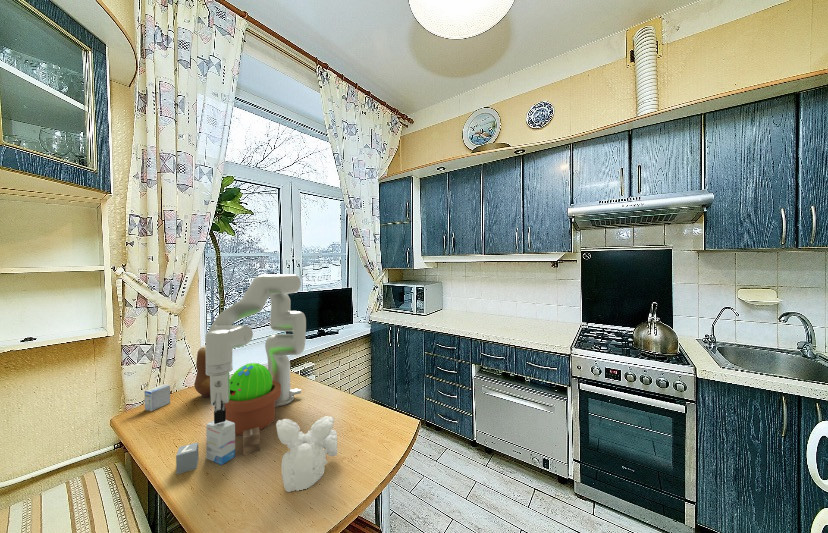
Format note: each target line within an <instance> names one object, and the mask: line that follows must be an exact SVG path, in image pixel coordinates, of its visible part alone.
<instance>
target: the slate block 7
mask: <svg viewBox="0 0 828 533" xmlns="http://www.w3.org/2000/svg"><path fill="white" fill-rule="evenodd" d="M199 459H200V458H199V441H198V442H197V441H196V442H192V443H189V444H185V445H182V446H179V447H178V449H177V452H176V454H175V464H176V465H175V466H176V467H175V469H176V475H180V474H183V473H186V472H190V471H193V470H196V469H197V467H198V464H199Z"/></svg>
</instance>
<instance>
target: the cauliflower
mask: <svg viewBox="0 0 828 533" xmlns="http://www.w3.org/2000/svg"><path fill="white" fill-rule="evenodd" d="M334 418H335V417H334V416H328V415H326V416H322V417H319V419H318V420H317V419H316V421H315V422H314V424H312V425H311V426H310V429H309V430H307V433H304V432H303V431H302V430H301V431H300V429H301V428H300V426H299V424H298V423H297V422H296V421H294V420H292V419H290V418H282V419H278V420H277V421H276V423H275V427H276V434H277V439H279V440H280V442H281V444H282V445H286V447H287V449H289V451H285V452H284V454H283V456H282V459H281V465H280V466H281V467H280V468H281V478H282V483H283V487H284V488H283V489H285V492H287V493H291V491H292V492H300V491H299V490H302V491H304V490H303V489H306V490H307V488H308V489H309V488H311V487H312V486H314V485H315V484H316V483H317V482H318V481H319V480H321V478H322V477H323V475H324V473H325V465H327V464H328V459H327V460H326V457H327V456H326V455H328V456H329V457H335V456H337V455H338V434H337V430H335V429H333V427H334V422H335V419H334ZM295 490H296V491H295Z"/></svg>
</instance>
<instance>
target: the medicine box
mask: <svg viewBox="0 0 828 533" xmlns="http://www.w3.org/2000/svg"><path fill="white" fill-rule="evenodd" d="M170 403H171V385H169V384H164V383H163V384H160V385H157V386H155V387H153V388H150V389H146V390H145V391H144V410H145V411H149V412H153V411H155V410H157V409H159V408H162V407H164V406H166V405H168V404H170Z"/></svg>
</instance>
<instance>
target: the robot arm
mask: <svg viewBox="0 0 828 533" xmlns="http://www.w3.org/2000/svg"><path fill="white" fill-rule="evenodd" d="M301 285H302V283H301V278H300V277H299V275H297V274H279V273H278V274H276V273H275V274H259V275H258V276H255V277H254V279H253V280H252V281H251V284H250V285H249V286H248V288H247V289H246V291H245V293H244V295H243V296H242V298H241V299H240V300H239V301H237V302H236V303H234V304H232V305H231V306H229V307H227V308H226V309H225V310H223V311H222V312H220V313H219V315H218V316H217V317H216V318H215V320H214V321H213V323H212V324H211V326H210V327H209V330H208V331H207V333H206V334H205V337H204V338H205V344H204V345H205V350H206V375H208V376H210V395H211V397H210V406H211V407H214V410H213V421H214V424H217V423H221V422H225V420H226V408H225V403H228V402H229V399H230V378H231V374H230V372H232V371H233V367H234V366H233V350H234V349H235V348H240V347H241V348H242V347H244V346H246V345H248V344H249V343H250V342H251V340H252V338H253V336H254V333H253V332H254V331H253V329H252V328H251V327H250V326H248V325H244V324H243V325H241V324H238V325H237V324H235V323H236V322H238V321H240V320H241V319H245V318H247V317H251V316H253V315H255V314H258V313H261V311H262V310H263V308H264V307H265V304H266V303H267V300H268V298H269V299H270V302H271V303H270V304H271V305H270V318H269V319H270V321H269V322H270V323H269V325H270V328H271V330H272V331H275V332H292V334H291V333H276V334H271V335H270V336H268V337H267V338H266V340H265V343H264V344H265V346H264V347H265V348H264V349H265V353H266V357H267V369H268V371H270V374H271V377H272V376H273V377H272V380H273V381H276V382H279V383H280V385H281V395H280V397H279V398H278V399H277V400H276V401H275V408H276V407H283V406H285V405H288V404H290V403H292V402H293V400H294V399H295V395H300V394H301V393H302V389H298V388H294V389H292V388H291V362H290V359H289V357H288V356H299V355H301V354H303V352H304V350H305V348H306V347H305V346H306V331H307V318H306V315H305V313H304V312H302V311H299V310H298V311H297V310H291V309H292V308H291V298H290V296H289V295H290V294H295V293H297V292H298V291H299V290H300V289H301Z"/></svg>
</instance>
